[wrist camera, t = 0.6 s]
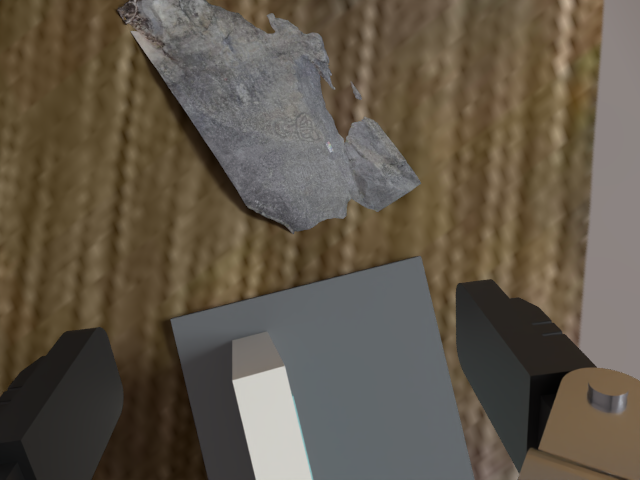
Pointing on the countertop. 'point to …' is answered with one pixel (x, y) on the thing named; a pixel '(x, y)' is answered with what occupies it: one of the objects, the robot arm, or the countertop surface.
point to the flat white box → (268, 410)
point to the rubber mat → (335, 377)
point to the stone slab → (268, 112)
